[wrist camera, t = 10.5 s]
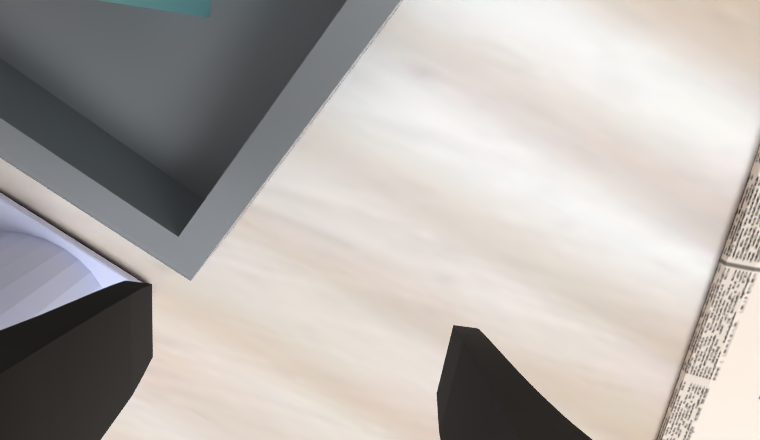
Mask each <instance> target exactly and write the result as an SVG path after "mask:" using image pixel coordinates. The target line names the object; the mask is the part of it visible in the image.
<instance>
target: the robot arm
mask: <svg viewBox="0 0 760 440" xmlns="http://www.w3.org/2000/svg"><path fill="white" fill-rule="evenodd" d="M152 357H153V342H152V284H148V283H142V282H141V281H139V280H138V279H136V278H135V277H133V276H131V275H130V274H128V273H127V272H125V271H123V270H122V269H120V268H119V267H117V266H116V265H114V264H112V263H111V262H109V261H108V260H106V259H104V258H103V257H101V256H100V255H98V254H97V253H95V252H93V251H92V250H90V249H89V248H87V247H85V246H84V245H82V244H81V243H79V242H78V241H76V240H74V239H73V238H71V237H70V236H68V235H66V234H65V233H63V232H62V231H60V230H59V229H57V228H55V227H54V226H52V225H51V224H49V223H47V222H46V221H44V220H43V219H41V218H40V217H38V216H36V215H35V214H33V213H32V212H30V211H28V210H27V209H25V208H24V207H22V206H21V205H19V204H17V203H16V202H14V201H13V200H11V199H9V198H8V197H6V196H5V195H3V194H2V193H0V440H101V438H102V437H103V436H104V434H105V433H106V431H107V430H108V429H109V427H110V426H111V424H112V423H113V422H114V420H115V419H116V417H117V416H118V415H119V413H120V412H121V410H122V409H123V408H124V406H125V405H126V403H127V402H128V400H129V399H130V398H131V396H132V395H133V393H134V391H135V389H136V388H137V386H138V384H139V382H140V380H141V378H142V377H143V375H144V373H145V371H146V369H147V367H148V365H149V363H150V361H151V359H152ZM437 406H438V421H439V433H440V439H441V440H592V439H591V438H590V437H588V436H587V435H586V434H585V433H583V432H582V431H581V430H580V429H578V428H577V427H576V426H575V425H574V424H572V423H571V422H570V421H569V420H568V419H567V418H566V417H564V416H563V415H562V414H561V413H560V412H559V411H558V410H557V409H556V408H555V407H554V406H553V405H551V404H550V403H549V402H548V401H547V400H546V399H545V398H544V397H543V396H542V395H541V394H540V393H539V392H538V391H537V390H536V389H535V388H534V387H533V386H532V385H531V384H530V383H529V382H528V381H527V380H526V379H525V378H524V377H523V376H522V375H521V374H520V373H519V372H518V371H517V370H516V369H515V368H514V366H513V365H512V364H511V363H510V362H509V361H508V360H507V359H506V358H505V357H504V356H503V354H502V353H501V352H500V351H499V350H498V349H497V348H496V347H495V346H494V345H493V343H492V342H491V341H490V340H489V339H488V338H487V337H486V336H485V335H484V334H483V333H482V332H481V331H480V330H479V329H477V328H470V327H463V326H455V325H453V329H452V333H451V337H450V342H449V346H448V350H447V354H446V358H445V362H444V366H443V370H442V374H441V378H440V382H439V386H438V391H437Z"/></svg>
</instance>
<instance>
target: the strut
mask: <svg viewBox="0 0 760 440" xmlns="http://www.w3.org/2000/svg"><path fill="white" fill-rule="evenodd" d="M99 1H105V2H112V3H118V4H125V5H131V6H137V7H144V8H150V9H157V10H163V11H169V12H176V13H182V14H189V15H195V16H202V17H208V18H210V3H211V0H99Z"/></svg>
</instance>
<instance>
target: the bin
mask: <svg viewBox="0 0 760 440" xmlns="http://www.w3.org/2000/svg"><path fill="white" fill-rule="evenodd" d="M402 1H403V0H211V3H210V18H208V17H202V16H195V15H189V14H182V13H176V12H169V11H163V10H157V9H150V8H144V7H137V6H131V5H125V4H118V3H112V2H105V1H99V0H0V158H2V159H3V160H5V161H6V162H8V163H10V164H11V165H13V166H14V167H16V168H17V169H19V170H20V171H22V172H23V173H25V174H26V175H28V176H30V177H31V178H33V179H34V180H36V181H37V182H39V183H40V184H42V185H43V186H45V187H47V188H48V189H50V190H51V191H53V192H54V193H56V194H57V195H59V196H60V197H62V198H63V199H65V200H67V201H68V202H70V203H71V204H73V205H74V206H76V207H77V208H79V209H80V210H82V211H84V212H85V213H87V214H88V215H90V216H91V217H93V218H94V219H96V220H97V221H99V222H100V223H102V224H104V225H105V226H107V227H108V228H110V229H111V230H113V231H114V232H116V233H117V234H119V235H121V236H122V237H124V238H125V239H127V240H128V241H130V242H131V243H133V244H134V245H136V246H137V247H139V248H141V249H142V250H144V251H145V252H147V253H148V254H150V255H151V256H153V257H154V258H156V259H158V260H159V261H161V262H162V263H164V264H165V265H167V266H168V267H170V268H171V269H173V270H175V271H176V272H178V273H179V274H181V275H182V276H184V277H185V278H187V279H188V280H190V281H191V280H192V278H193V277H194V276H195V275H196V273H197V272H198V271H199V270H200V269H201V267H202V266H203V265H204V264H205V262H206V261H207V260H208V259H209V257H210V256H211V255H212V254H213V252H214V251H215V250H216V249H217V247H218V246H219V245H220V244H221V242H222V241H223V240H224V239H225V237H226V236H227V235H228V233H229V232H230V231H231V229H232V228H233V227H234V225H235V224H236V223H237V221H238V220H239V219H240V217H241V216H242V215H243V213H244V212H245V211H246V209H247V208H248V207H249V205H250V204H251V203H252V201H253V200H254V199H255V197H256V196H257V195H258V193H259V192H260V191H261V189H262V188H263V187H264V185H265V184H266V183H267V181H268V180H269V179H270V177H271V176H272V175H273V173H274V172H275V171H276V169H277V168H278V167H279V165H280V164H281V163H282V161H283V160H284V159H285V157H286V156H287V155H288V153H289V152H290V151H291V149H292V148H293V147H294V145H295V144H296V143H297V141H298V140H299V139H300V137H301V136H302V135H303V133H304V132H305V131H306V129H307V128H308V127H309V125H310V124H311V123H312V121H313V120H314V119H315V117H316V116H317V115H318V113H319V112H320V111H321V109H322V108H323V107H324V105H325V104H326V103H327V101H328V100H329V99H330V97H331V96H332V95H333V93H334V92H335V91H336V89H337V88H338V87H339V85H340V84H341V83H342V81H343V80H344V79H345V77H346V76H347V75H348V73H349V72H350V71H351V69H352V68H353V67H354V65H355V64H356V63H357V61H358V60H359V59H360V57H361V56H362V55H363V53H364V52H365V51H366V49H367V48H368V47H369V45H370V44H371V43H372V41H373V40H374V39H375V37H376V36H377V35H378V33H379V32H380V31H381V29H382V28H383V27H384V25H385V24H386V23H387V21H388V20H389V19H390V17H391V16H392V15H393V13H394V12H395V11H396V9H397V8H398V7H399V5H400V4H401V3H402Z"/></svg>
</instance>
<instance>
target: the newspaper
mask: <svg viewBox="0 0 760 440" xmlns="http://www.w3.org/2000/svg"><path fill="white" fill-rule="evenodd" d="M657 440H760V147H759V150H758V153H757V156H756V158H755V161H754V164H753V167H752V170H751V173H750V176H749V178H748V181H747V184H746V187H745V190H744V193H743V196H742V199H741V201H740V204H739V207H738V210H737V213H736V216H735V219H734V221H733V224H732V227H731V230H730V233H729V236H728V239H727V241H726V244H725V247H724V250H723V253H722V256H721V259H720V261H719V264H718V267H717V270H716V273H715V276H714V279H713V282H712V284H711V287H710V290H709V293H708V296H707V299H706V302H705V304H704V307H703V310H702V313H701V316H700V319H699V322H698V324H697V327H696V330H695V333H694V336H693V339H692V342H691V344H690V347H689V350H688V353H687V356H686V359H685V362H684V365H683V367H682V370H681V373H680V376H679V379H678V382H677V385H676V387H675V390H674V393H673V396H672V399H671V402H670V405H669V407H668V410H667V413H666V416H665V419H664V422H663V425H662V427H661V430H660V433H659V436H658V439H657Z"/></svg>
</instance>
